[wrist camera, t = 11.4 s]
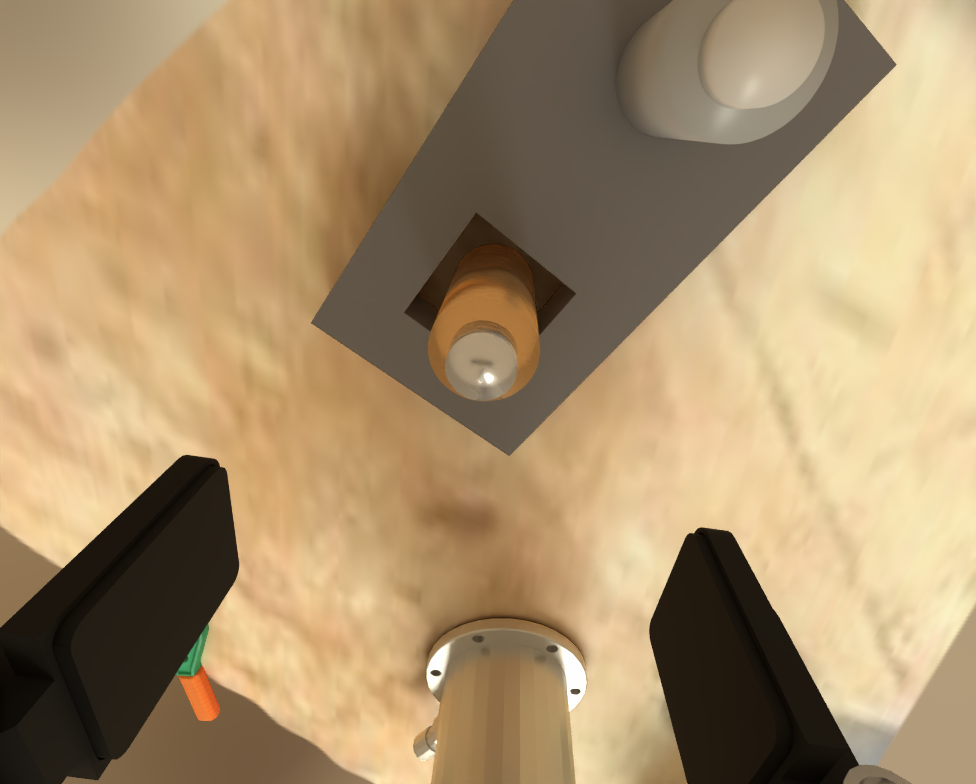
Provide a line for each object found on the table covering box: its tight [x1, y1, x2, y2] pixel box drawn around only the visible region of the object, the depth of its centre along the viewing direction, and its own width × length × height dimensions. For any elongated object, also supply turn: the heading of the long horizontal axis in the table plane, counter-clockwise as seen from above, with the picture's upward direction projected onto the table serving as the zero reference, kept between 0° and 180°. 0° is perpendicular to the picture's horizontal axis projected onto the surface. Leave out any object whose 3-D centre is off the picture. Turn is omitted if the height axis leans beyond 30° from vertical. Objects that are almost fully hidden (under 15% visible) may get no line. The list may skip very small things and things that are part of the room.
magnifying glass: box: [176, 624, 220, 721], centre depth 41 cm, size 15×6×2 cm, turn 2°
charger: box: [311, 0, 897, 456], centre depth 19 cm, size 22×12×11 cm, turn 143°
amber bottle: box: [428, 244, 540, 401], centre depth 21 cm, size 4×4×10 cm
